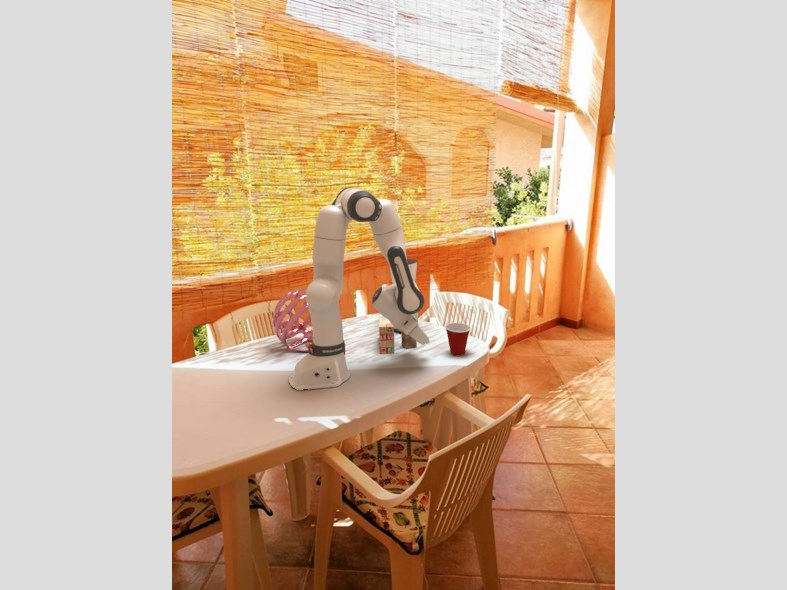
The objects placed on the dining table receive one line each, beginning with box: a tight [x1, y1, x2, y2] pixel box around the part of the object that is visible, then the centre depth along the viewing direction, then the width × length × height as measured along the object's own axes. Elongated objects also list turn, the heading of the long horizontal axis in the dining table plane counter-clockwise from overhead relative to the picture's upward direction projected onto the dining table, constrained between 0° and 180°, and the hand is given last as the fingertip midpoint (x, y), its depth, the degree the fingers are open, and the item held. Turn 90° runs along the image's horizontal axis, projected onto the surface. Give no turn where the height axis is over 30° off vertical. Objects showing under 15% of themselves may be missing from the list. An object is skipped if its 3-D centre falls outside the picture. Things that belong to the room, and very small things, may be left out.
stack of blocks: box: [378, 318, 395, 355], centre depth 216 cm, size 21×6×12 cm, turn 2°
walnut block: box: [401, 332, 418, 350], centre depth 214 cm, size 5×5×9 cm
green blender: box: [389, 258, 419, 334], centre depth 236 cm, size 19×13×35 cm
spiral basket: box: [272, 287, 313, 353], centre depth 215 cm, size 28×28×27 cm
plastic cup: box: [444, 322, 472, 356], centre depth 203 cm, size 11×11×12 cm
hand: (427, 341), depth 198 cm, fingers closed
